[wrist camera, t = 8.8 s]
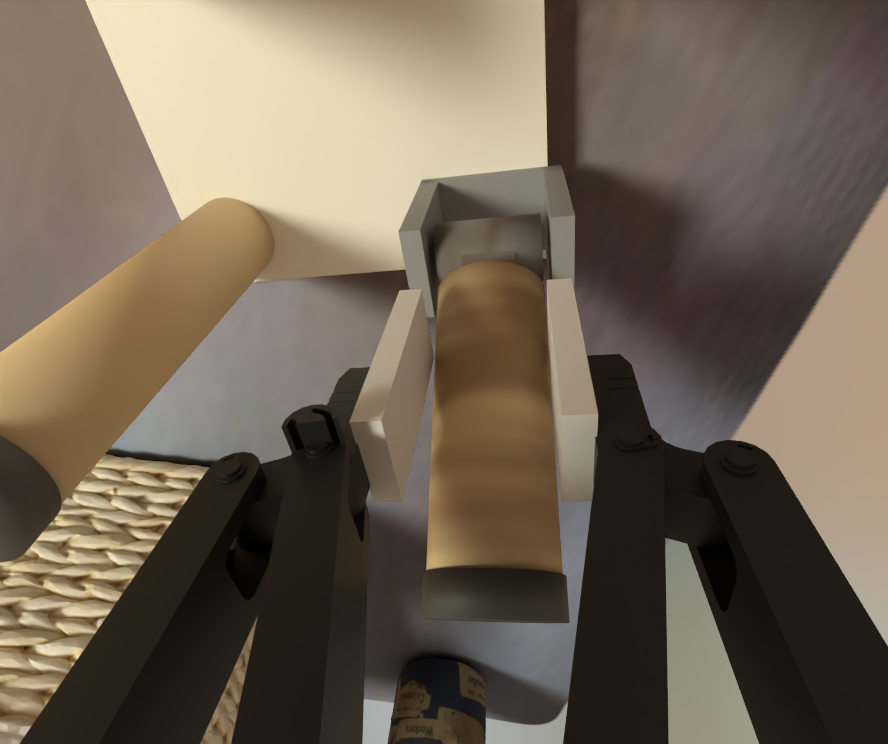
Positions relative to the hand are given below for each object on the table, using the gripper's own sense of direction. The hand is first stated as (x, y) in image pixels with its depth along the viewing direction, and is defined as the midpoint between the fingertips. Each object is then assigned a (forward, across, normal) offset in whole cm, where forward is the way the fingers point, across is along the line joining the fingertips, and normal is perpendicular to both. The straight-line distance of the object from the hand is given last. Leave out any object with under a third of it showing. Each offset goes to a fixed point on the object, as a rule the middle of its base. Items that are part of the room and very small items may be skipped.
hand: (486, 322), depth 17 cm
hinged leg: (0, 0, -4) cm, 4 cm away
